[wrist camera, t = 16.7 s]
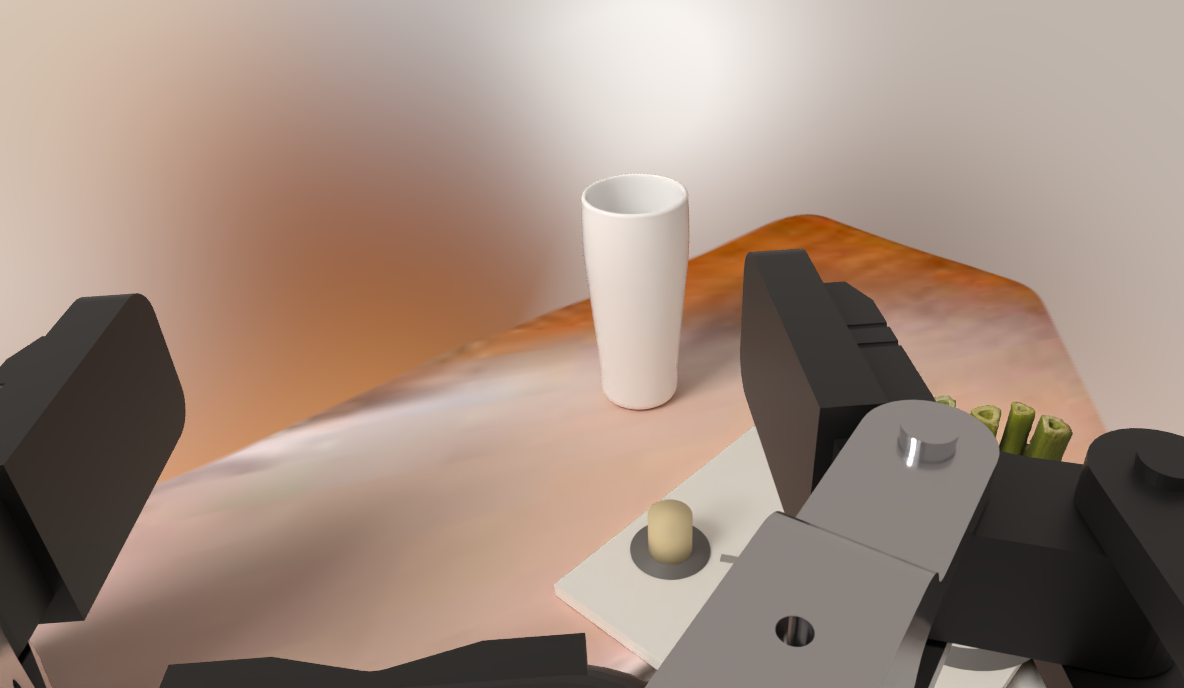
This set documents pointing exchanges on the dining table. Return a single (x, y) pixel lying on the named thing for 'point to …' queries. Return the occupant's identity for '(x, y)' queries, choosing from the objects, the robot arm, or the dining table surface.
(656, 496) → the dining table surface
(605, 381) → the drinking glass
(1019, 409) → the fennel bulb
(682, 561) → the gauge board
